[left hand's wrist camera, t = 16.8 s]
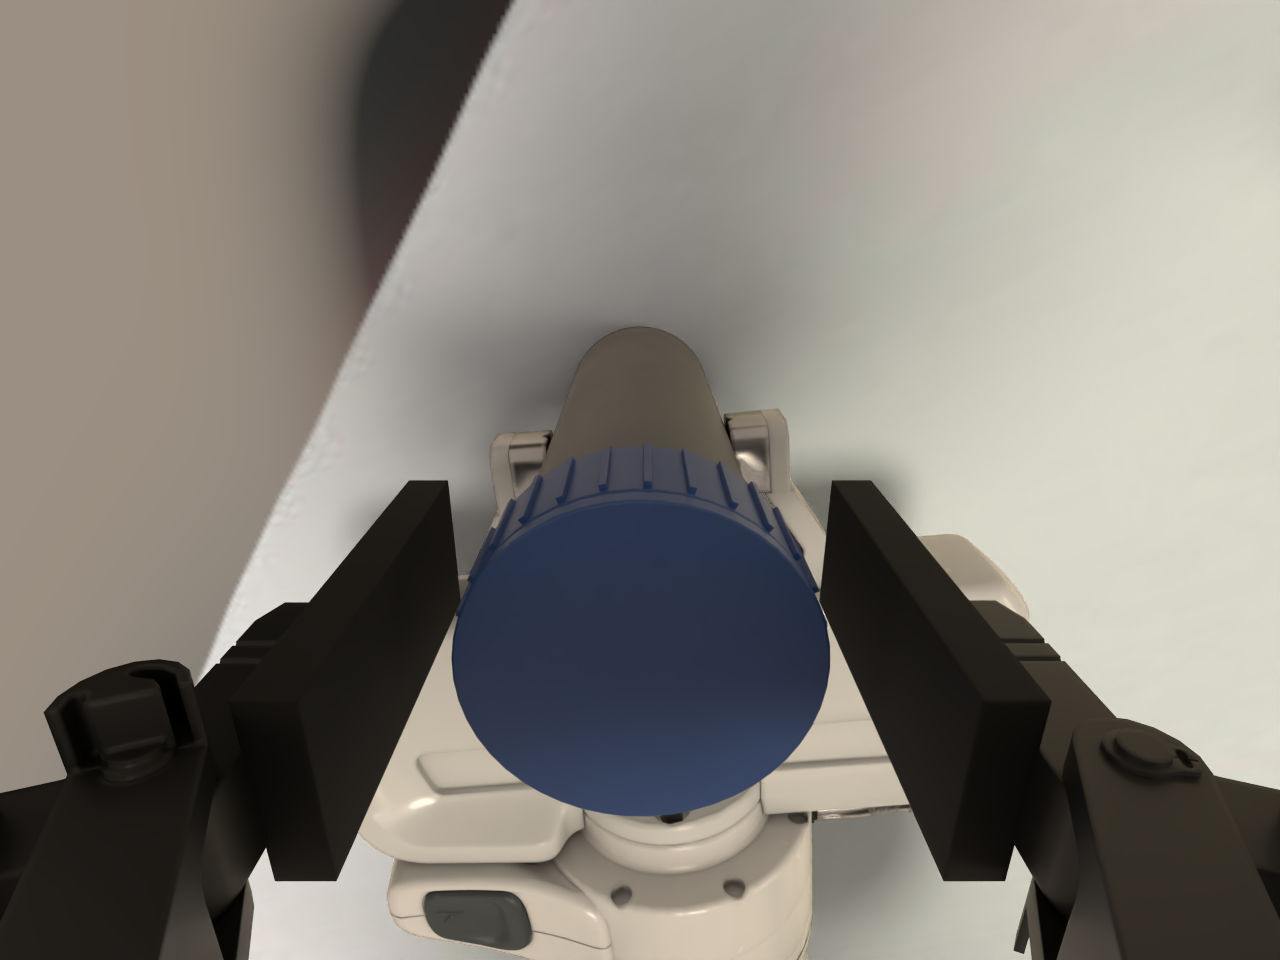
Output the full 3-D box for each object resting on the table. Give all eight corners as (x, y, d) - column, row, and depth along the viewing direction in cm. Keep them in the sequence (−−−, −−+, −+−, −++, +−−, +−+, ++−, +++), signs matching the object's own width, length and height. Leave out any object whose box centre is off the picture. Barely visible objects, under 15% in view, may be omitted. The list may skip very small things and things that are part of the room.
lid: (427, 495, 12) (380, 562, 10) (758, 397, 11) (786, 444, 9) (544, 751, 14) (527, 853, 12) (831, 680, 13) (868, 774, 11)
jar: (673, 303, 24) (724, 455, 10) (727, 425, 26) (839, 711, 11) (549, 362, 25) (425, 585, 10) (609, 477, 26) (573, 808, 12)
